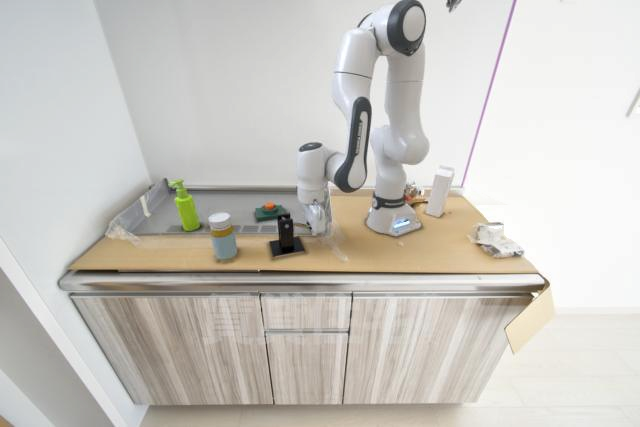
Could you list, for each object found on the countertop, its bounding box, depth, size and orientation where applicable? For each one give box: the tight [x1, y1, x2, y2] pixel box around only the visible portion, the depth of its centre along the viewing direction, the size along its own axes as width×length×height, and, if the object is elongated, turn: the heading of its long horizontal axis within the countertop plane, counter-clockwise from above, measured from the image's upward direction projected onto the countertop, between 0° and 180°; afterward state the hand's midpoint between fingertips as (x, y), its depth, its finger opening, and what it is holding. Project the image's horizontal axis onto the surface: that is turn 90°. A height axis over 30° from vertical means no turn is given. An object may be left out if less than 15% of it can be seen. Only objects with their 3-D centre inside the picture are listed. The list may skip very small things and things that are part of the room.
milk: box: [425, 165, 455, 218], centre depth 105 cm, size 6×6×22 cm
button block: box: [254, 203, 286, 223], centre depth 106 cm, size 12×9×4 cm
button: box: [264, 202, 275, 210], centre depth 104 cm, size 4×4×2 cm
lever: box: [281, 217, 312, 232], centre depth 82 cm, size 12×5×2 cm, turn 108°
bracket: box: [268, 212, 306, 257], centre depth 83 cm, size 11×9×13 cm
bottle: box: [208, 212, 239, 261], centre depth 78 cm, size 7×7×15 cm
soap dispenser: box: [167, 179, 201, 232], centre depth 92 cm, size 6×7×20 cm
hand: (311, 229), depth 85 cm, fingers closed on lever, 5 cm apart
